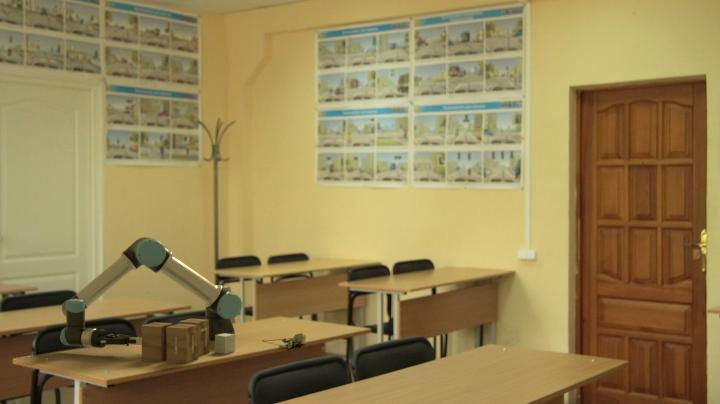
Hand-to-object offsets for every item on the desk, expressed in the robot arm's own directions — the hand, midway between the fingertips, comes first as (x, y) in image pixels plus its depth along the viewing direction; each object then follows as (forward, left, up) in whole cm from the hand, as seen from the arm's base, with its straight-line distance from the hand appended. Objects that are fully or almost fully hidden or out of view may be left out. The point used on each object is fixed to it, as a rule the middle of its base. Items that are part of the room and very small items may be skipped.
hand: (144, 341), depth 370 cm
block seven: (-20, +1, -7) cm, 22 cm away
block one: (-13, +13, -7) cm, 19 cm away
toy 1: (-50, -63, -7) cm, 81 cm away
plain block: (-5, +4, -7) cm, 9 cm away
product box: (-33, +1, -7) cm, 34 cm away
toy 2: (-60, -4, -7) cm, 60 cm away
